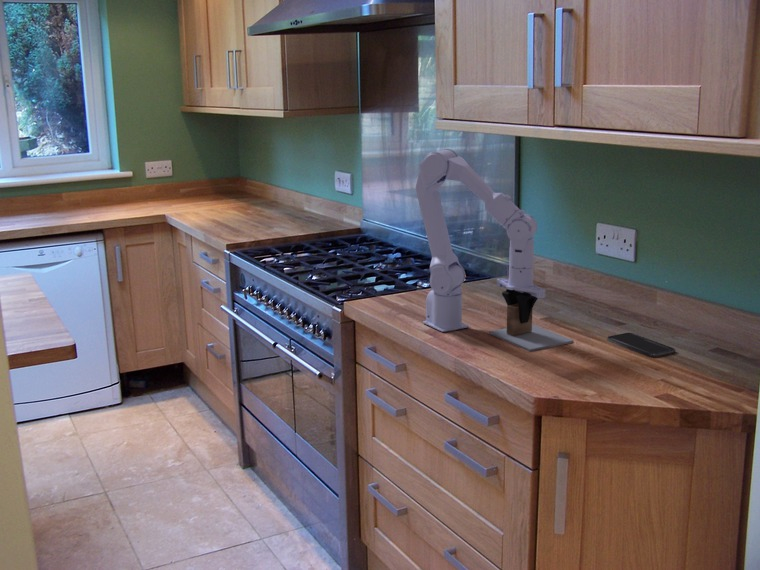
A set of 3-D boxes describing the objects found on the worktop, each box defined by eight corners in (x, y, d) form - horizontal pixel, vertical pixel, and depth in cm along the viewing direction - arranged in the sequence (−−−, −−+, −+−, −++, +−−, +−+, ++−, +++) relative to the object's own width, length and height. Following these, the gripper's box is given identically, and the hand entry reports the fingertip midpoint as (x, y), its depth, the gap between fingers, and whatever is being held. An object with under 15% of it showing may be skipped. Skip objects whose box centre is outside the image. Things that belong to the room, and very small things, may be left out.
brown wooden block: (506, 333, 200) (507, 305, 198) (524, 328, 203) (525, 301, 201) (513, 336, 198) (514, 308, 196) (531, 331, 201) (532, 303, 199)
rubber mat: (488, 333, 202) (488, 331, 202) (530, 325, 208) (530, 323, 208) (529, 351, 189) (529, 349, 189) (573, 342, 195) (573, 340, 195)
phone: (652, 355, 183) (605, 336, 196) (651, 359, 183) (605, 341, 196) (678, 349, 187) (630, 331, 200) (677, 354, 187) (630, 336, 200)
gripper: (487, 263, 200) (486, 317, 203) (530, 274, 188) (529, 331, 192) (509, 259, 204) (507, 312, 207) (552, 270, 192) (550, 325, 196)
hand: (519, 320), depth 200 cm, fingers closed on brown wooden block, 2 cm apart
